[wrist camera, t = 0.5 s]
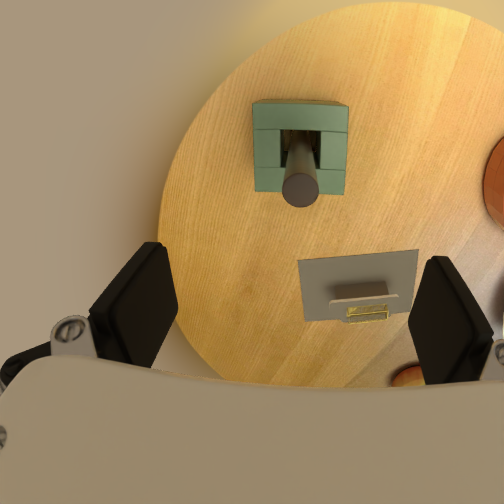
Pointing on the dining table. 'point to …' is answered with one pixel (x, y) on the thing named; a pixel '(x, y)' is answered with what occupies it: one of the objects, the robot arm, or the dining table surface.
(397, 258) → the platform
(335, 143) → the stand
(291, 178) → the stick
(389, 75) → the dining table surface
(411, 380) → the apple
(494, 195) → the mixing bowl
